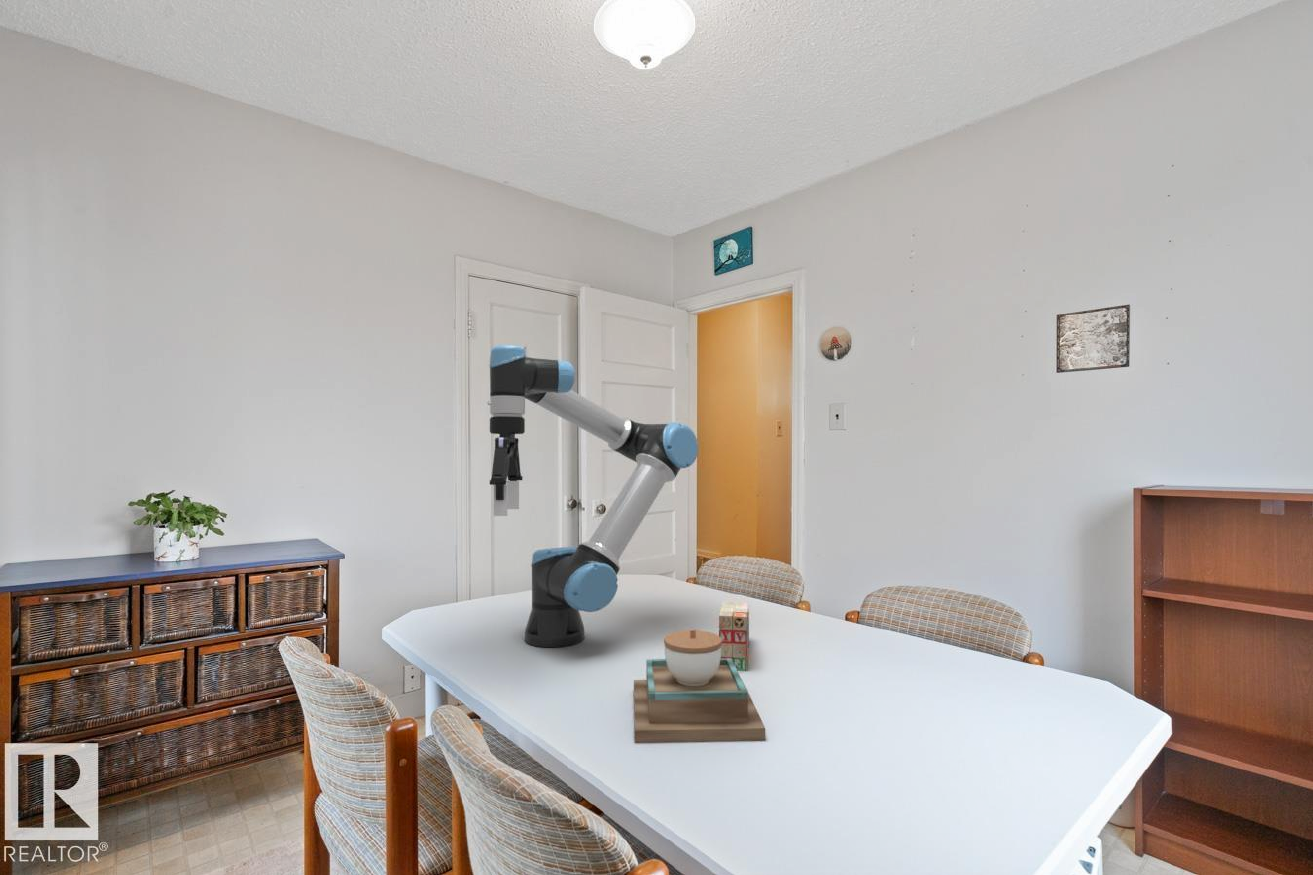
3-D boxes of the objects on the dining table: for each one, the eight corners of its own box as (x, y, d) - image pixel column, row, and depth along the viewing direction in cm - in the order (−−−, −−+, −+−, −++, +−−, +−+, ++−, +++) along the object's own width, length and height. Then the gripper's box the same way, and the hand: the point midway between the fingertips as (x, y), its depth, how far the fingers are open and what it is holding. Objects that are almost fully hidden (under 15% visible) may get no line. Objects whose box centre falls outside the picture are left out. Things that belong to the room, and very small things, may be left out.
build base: (633, 689, 124) (633, 655, 124) (741, 688, 125) (741, 653, 125) (634, 742, 102) (634, 700, 102) (765, 740, 103) (765, 698, 103)
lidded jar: (707, 666, 121) (708, 619, 121) (731, 687, 111) (731, 635, 111) (656, 673, 117) (656, 624, 117) (675, 694, 107) (675, 641, 107)
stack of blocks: (724, 640, 157) (724, 591, 157) (749, 641, 156) (749, 592, 156) (718, 670, 136) (718, 614, 136) (747, 672, 135) (747, 615, 135)
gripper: (501, 418, 148) (501, 506, 148) (476, 413, 123) (475, 519, 123) (533, 418, 148) (532, 506, 148) (513, 413, 123) (513, 518, 123)
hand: (506, 512), depth 136 cm, fingers open, 13 cm apart
